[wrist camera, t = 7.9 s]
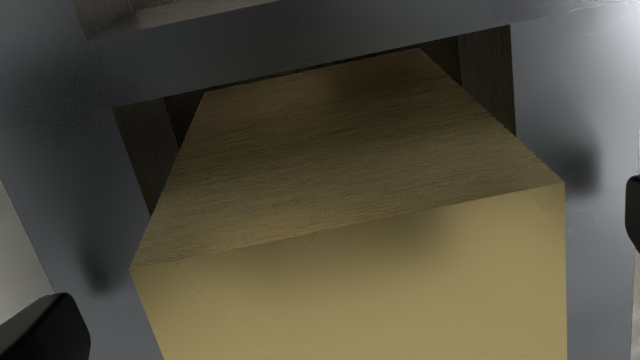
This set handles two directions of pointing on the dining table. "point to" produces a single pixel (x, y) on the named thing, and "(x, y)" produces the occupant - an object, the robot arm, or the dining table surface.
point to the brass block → (355, 225)
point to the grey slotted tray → (284, 55)
